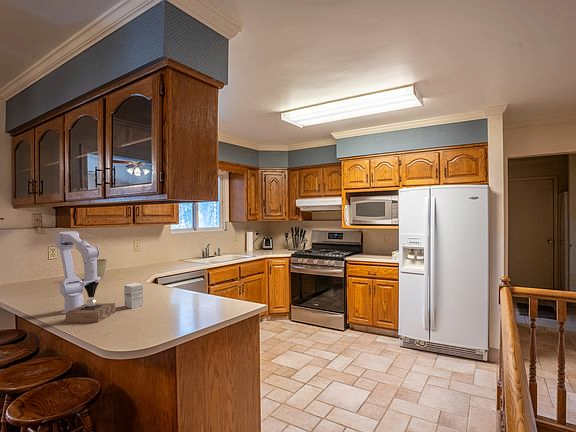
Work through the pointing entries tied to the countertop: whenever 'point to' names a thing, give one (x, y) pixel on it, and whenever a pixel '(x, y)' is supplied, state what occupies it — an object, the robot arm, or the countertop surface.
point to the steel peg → (91, 303)
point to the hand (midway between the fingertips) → (91, 297)
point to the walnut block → (90, 313)
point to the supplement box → (133, 295)
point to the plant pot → (101, 267)
